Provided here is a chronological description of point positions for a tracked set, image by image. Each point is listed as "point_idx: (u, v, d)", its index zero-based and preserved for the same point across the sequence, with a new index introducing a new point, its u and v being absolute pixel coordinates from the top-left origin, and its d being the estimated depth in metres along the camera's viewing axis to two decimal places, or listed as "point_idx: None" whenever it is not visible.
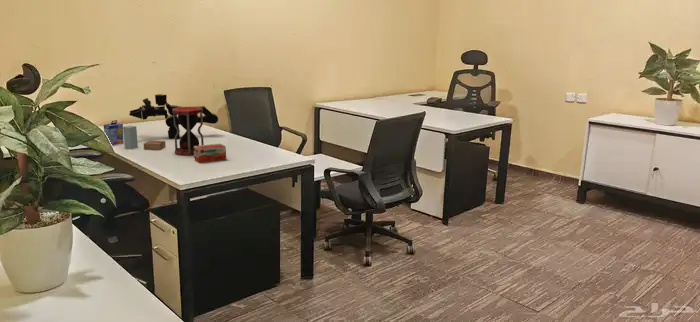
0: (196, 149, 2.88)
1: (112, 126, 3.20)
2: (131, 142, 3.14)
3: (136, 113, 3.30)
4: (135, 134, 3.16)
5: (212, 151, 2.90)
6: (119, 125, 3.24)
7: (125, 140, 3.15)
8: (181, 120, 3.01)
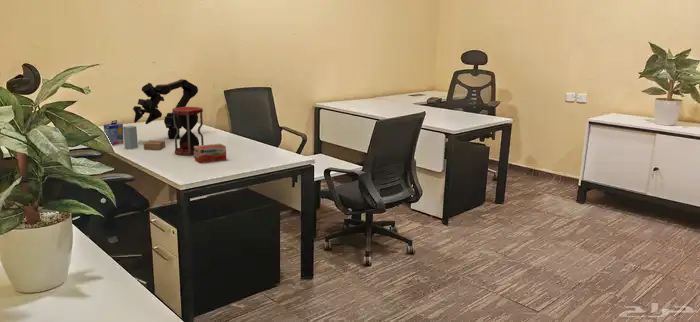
0: (196, 149, 2.88)
1: (112, 126, 3.20)
2: (131, 142, 3.14)
3: (150, 118, 3.20)
4: (135, 134, 3.16)
5: (213, 151, 2.90)
6: (119, 125, 3.24)
7: (125, 140, 3.15)
8: (181, 120, 3.01)
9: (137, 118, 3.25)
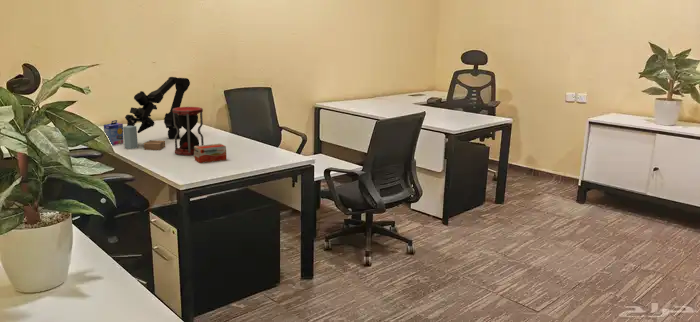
0: (196, 149, 2.88)
1: (112, 126, 3.20)
2: (131, 142, 3.14)
3: (142, 126, 3.16)
4: (135, 134, 3.16)
5: (213, 151, 2.90)
6: (119, 125, 3.24)
7: (125, 140, 3.15)
8: (181, 120, 3.01)
9: None
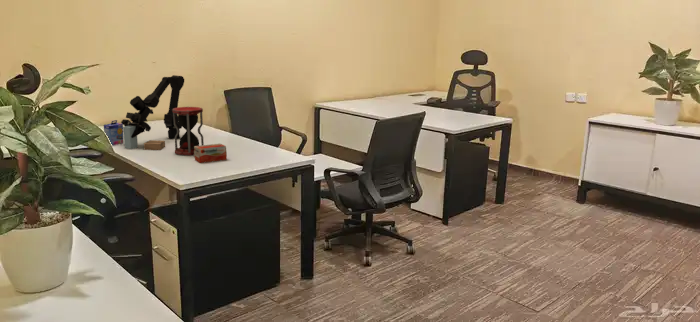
0: (197, 149, 2.88)
1: (112, 126, 3.20)
2: (131, 142, 3.14)
3: (136, 131, 3.15)
4: None
5: (213, 151, 2.90)
6: (119, 125, 3.24)
7: (125, 140, 3.15)
8: (181, 120, 3.01)
9: None
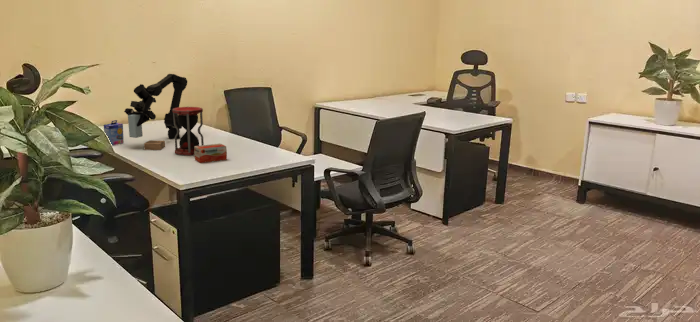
0: (197, 149, 2.88)
1: (112, 126, 3.20)
2: (136, 131, 3.13)
3: (141, 120, 3.13)
4: None
5: (213, 151, 2.90)
6: (119, 125, 3.24)
7: (130, 129, 3.13)
8: (181, 120, 3.01)
9: None
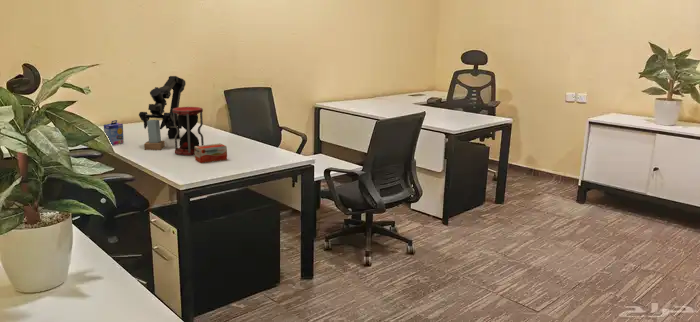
0: (197, 149, 2.88)
1: (112, 126, 3.20)
2: (157, 136, 3.15)
3: (164, 122, 3.15)
4: (159, 128, 3.17)
5: (214, 151, 2.90)
6: (119, 125, 3.24)
7: (150, 134, 3.14)
8: (181, 120, 3.01)
9: (146, 124, 3.16)
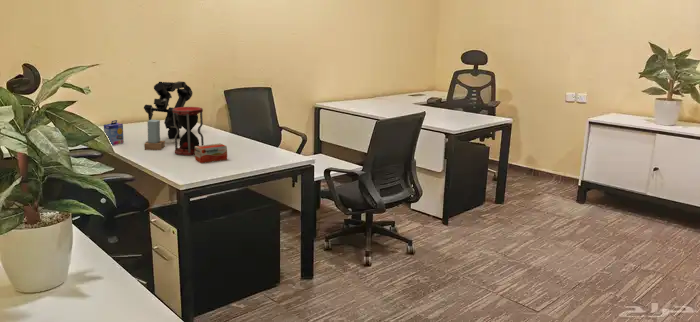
0: (197, 149, 2.88)
1: (112, 126, 3.20)
2: (156, 137, 3.14)
3: (168, 117, 3.25)
4: (159, 128, 3.16)
5: (214, 151, 2.90)
6: (119, 125, 3.24)
7: (149, 134, 3.13)
8: (181, 120, 3.01)
9: (150, 117, 3.25)
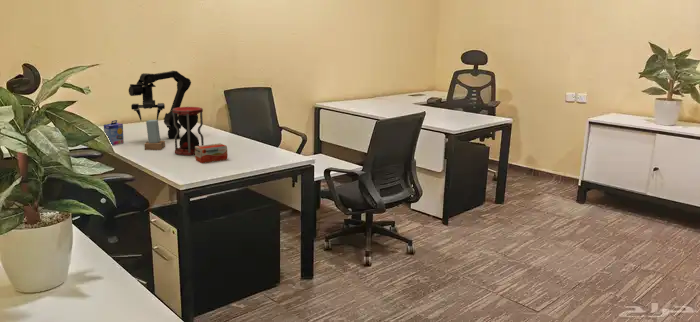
0: (198, 149, 2.88)
1: (112, 126, 3.20)
2: (157, 136, 3.15)
3: None
4: (158, 127, 3.17)
5: (214, 151, 2.90)
6: (119, 125, 3.24)
7: (149, 135, 3.14)
8: (181, 120, 3.01)
9: (140, 115, 3.30)
